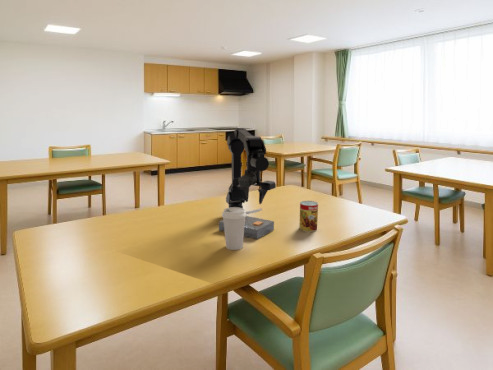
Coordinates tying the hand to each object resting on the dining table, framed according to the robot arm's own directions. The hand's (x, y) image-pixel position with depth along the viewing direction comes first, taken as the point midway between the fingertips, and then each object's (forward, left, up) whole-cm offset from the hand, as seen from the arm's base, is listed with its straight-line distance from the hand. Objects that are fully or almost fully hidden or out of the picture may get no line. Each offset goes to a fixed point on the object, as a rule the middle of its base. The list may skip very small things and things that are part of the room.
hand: (253, 202), depth 158 cm
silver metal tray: (-4, 0, -13) cm, 13 cm away
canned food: (+19, +17, -13) cm, 28 cm away
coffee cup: (+3, -19, -13) cm, 23 cm away
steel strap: (-4, 0, -6) cm, 7 cm away
